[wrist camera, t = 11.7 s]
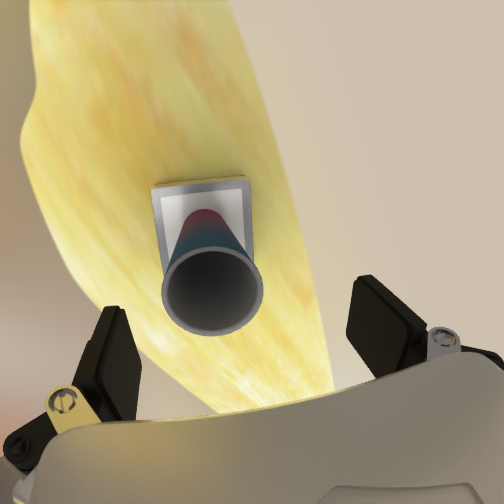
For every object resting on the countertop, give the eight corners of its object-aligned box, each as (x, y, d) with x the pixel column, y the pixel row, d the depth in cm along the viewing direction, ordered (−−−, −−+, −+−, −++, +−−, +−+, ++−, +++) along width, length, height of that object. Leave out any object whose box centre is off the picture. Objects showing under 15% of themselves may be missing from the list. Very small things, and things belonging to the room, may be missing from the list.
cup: (246, 223, 33) (283, 281, 20) (211, 268, 35) (224, 350, 21) (197, 188, 31) (199, 225, 17) (163, 238, 32) (143, 307, 18)
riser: (155, 184, 34) (150, 189, 30) (243, 175, 35) (250, 179, 32) (167, 267, 38) (164, 280, 34) (248, 257, 39) (254, 270, 36)
